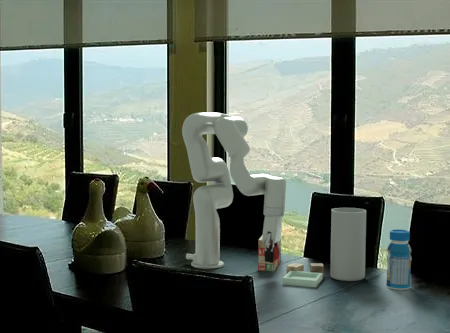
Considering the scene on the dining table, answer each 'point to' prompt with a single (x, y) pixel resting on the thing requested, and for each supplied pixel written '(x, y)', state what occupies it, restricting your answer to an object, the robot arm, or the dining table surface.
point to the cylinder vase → (348, 244)
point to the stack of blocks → (261, 259)
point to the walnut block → (316, 268)
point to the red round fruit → (276, 253)
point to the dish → (302, 279)
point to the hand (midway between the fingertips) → (271, 259)
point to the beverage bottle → (399, 260)
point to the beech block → (295, 267)
